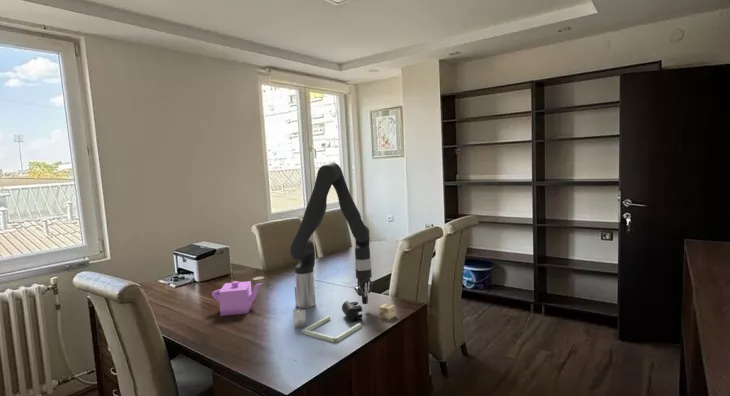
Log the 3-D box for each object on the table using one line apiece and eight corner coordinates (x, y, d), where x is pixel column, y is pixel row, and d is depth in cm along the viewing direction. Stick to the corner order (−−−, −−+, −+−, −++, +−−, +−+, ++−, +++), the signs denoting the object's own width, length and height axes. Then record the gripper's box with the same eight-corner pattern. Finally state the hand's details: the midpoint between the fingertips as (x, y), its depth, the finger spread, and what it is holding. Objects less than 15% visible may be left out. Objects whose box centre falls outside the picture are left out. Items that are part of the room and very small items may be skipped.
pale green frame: (301, 333, 167) (301, 329, 167) (328, 319, 181) (328, 316, 181) (335, 342, 156) (335, 339, 156) (361, 327, 170) (361, 323, 170)
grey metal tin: (292, 327, 174) (291, 311, 173) (300, 323, 178) (299, 308, 177) (300, 329, 171) (299, 313, 170) (308, 325, 175) (307, 309, 174)
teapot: (263, 311, 195) (261, 283, 193) (209, 317, 191) (207, 288, 190) (266, 301, 210) (264, 275, 208) (216, 306, 206) (214, 279, 205)
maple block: (379, 317, 180) (379, 307, 179) (385, 314, 184) (384, 303, 183) (389, 319, 177) (388, 308, 176) (394, 316, 181) (394, 305, 181)
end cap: (342, 315, 184) (341, 301, 184) (356, 313, 186) (356, 299, 186) (347, 323, 175) (346, 308, 174) (362, 321, 177) (362, 306, 176)
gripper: (364, 263, 195) (366, 298, 196) (348, 270, 184) (350, 306, 185) (377, 265, 191) (379, 300, 192) (361, 272, 180) (363, 309, 181)
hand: (365, 303), depth 189 cm, fingers closed
